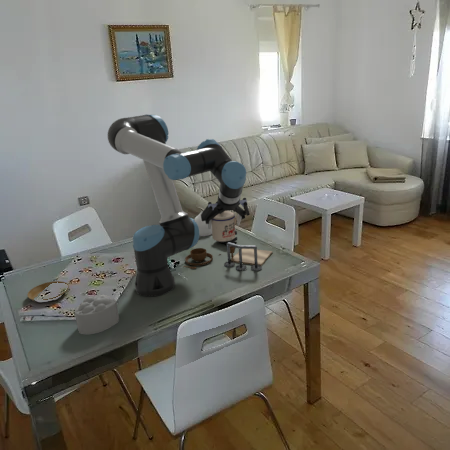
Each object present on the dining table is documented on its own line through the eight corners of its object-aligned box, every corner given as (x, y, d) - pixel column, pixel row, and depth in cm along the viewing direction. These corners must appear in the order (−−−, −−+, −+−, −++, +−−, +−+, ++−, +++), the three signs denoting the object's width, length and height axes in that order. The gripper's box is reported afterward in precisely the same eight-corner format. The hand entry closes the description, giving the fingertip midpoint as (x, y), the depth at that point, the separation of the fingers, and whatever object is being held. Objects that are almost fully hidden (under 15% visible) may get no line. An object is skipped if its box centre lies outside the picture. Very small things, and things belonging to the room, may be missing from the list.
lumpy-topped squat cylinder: (123, 320, 139) (119, 297, 136) (87, 339, 130) (83, 315, 127) (106, 310, 146) (102, 288, 143) (71, 327, 137) (66, 304, 134)
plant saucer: (51, 284, 169) (50, 278, 168) (78, 290, 162) (77, 284, 161) (20, 301, 156) (18, 295, 155) (47, 309, 150) (46, 302, 149)
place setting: (199, 251, 191) (198, 239, 189) (237, 258, 181) (236, 245, 179) (176, 266, 177) (175, 254, 175) (216, 275, 167) (215, 262, 165)
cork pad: (261, 266, 171) (260, 264, 171) (230, 261, 177) (230, 260, 177) (272, 252, 183) (272, 251, 183) (243, 249, 189) (242, 247, 188)
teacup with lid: (225, 244, 152) (223, 213, 148) (207, 239, 157) (204, 209, 154) (245, 233, 160) (244, 204, 156) (227, 229, 166) (226, 201, 162)
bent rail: (257, 273, 165) (257, 250, 162) (220, 267, 172) (219, 245, 169) (263, 267, 170) (262, 244, 167) (227, 261, 177) (225, 240, 174)
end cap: (212, 243, 198) (211, 229, 196) (223, 238, 203) (222, 225, 201) (227, 248, 192) (226, 234, 189) (238, 243, 196) (237, 229, 194)
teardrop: (208, 226, 220) (206, 205, 216) (218, 232, 211) (216, 210, 207) (189, 231, 215) (187, 209, 211) (199, 237, 206) (196, 214, 202)
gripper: (197, 209, 137) (195, 236, 156) (265, 201, 141) (254, 228, 160) (193, 189, 140) (192, 219, 160) (260, 182, 144) (250, 211, 163)
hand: (223, 224), depth 160 cm, fingers closed on teacup with lid, 11 cm apart
